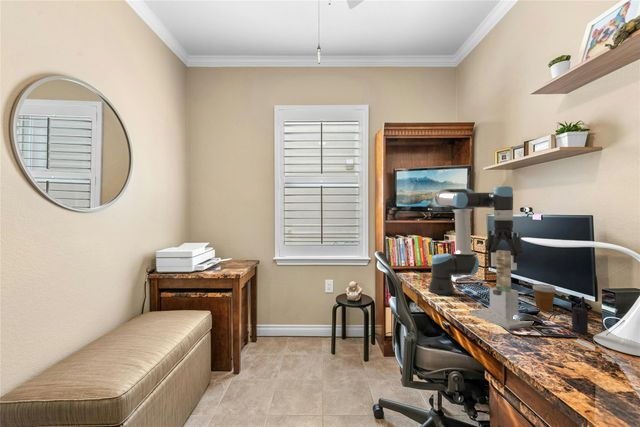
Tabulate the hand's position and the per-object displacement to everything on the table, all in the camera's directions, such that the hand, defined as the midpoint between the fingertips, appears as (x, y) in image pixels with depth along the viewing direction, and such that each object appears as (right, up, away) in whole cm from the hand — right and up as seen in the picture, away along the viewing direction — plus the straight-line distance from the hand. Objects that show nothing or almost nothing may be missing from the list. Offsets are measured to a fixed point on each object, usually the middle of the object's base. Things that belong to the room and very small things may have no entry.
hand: (503, 267), depth 135 cm
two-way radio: (+21, -24, -16) cm, 35 cm away
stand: (0, -24, 0) cm, 24 cm away
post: (0, -16, 0) cm, 16 cm away
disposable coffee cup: (+28, -24, +12) cm, 39 cm away
